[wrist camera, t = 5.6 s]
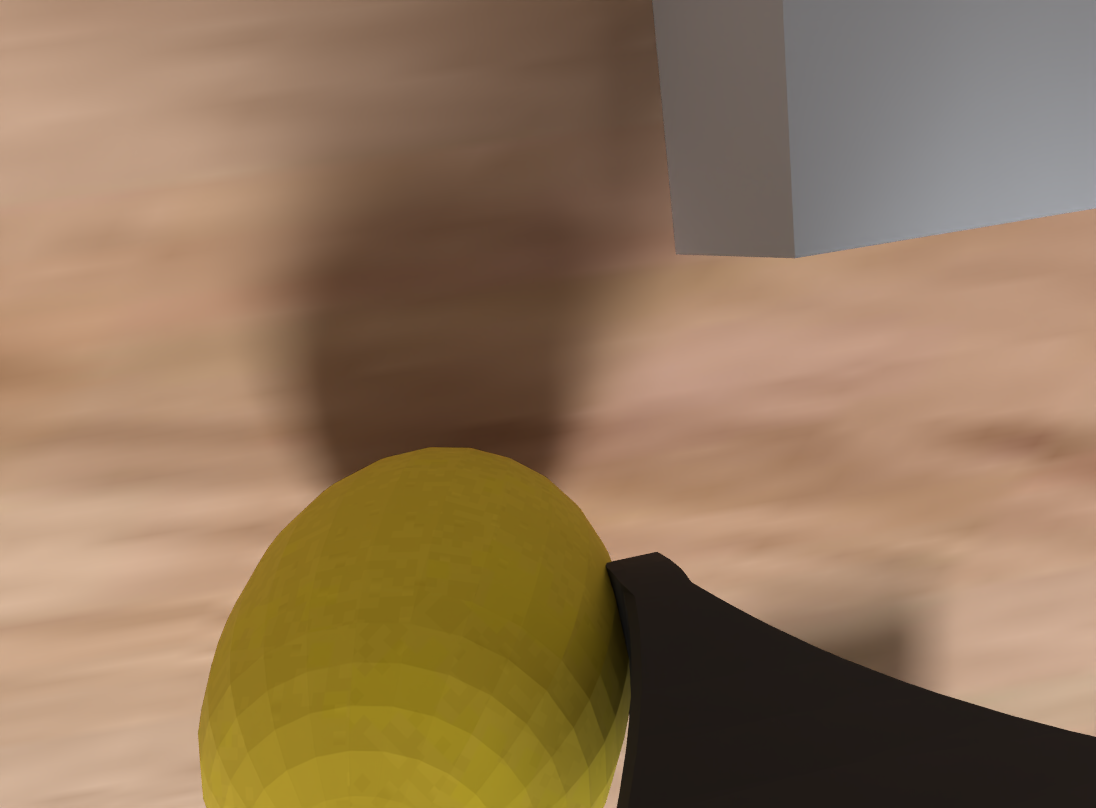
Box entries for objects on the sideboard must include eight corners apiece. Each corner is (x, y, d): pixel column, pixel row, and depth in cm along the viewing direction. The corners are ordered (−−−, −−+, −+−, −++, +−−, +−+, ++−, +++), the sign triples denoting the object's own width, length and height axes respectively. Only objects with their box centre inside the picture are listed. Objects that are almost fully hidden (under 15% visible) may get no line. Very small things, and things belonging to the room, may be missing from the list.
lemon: (284, 516, 13) (-100, 916, 6) (476, 334, 12) (329, 520, 5) (473, 688, 14) (368, 1228, 7) (667, 534, 13) (812, 962, 6)
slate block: (880, -27, 12) (1123, -177, 8) (883, 220, 13) (1097, 208, 9) (650, -2, 12) (775, -148, 7) (674, 254, 13) (795, 257, 8)
